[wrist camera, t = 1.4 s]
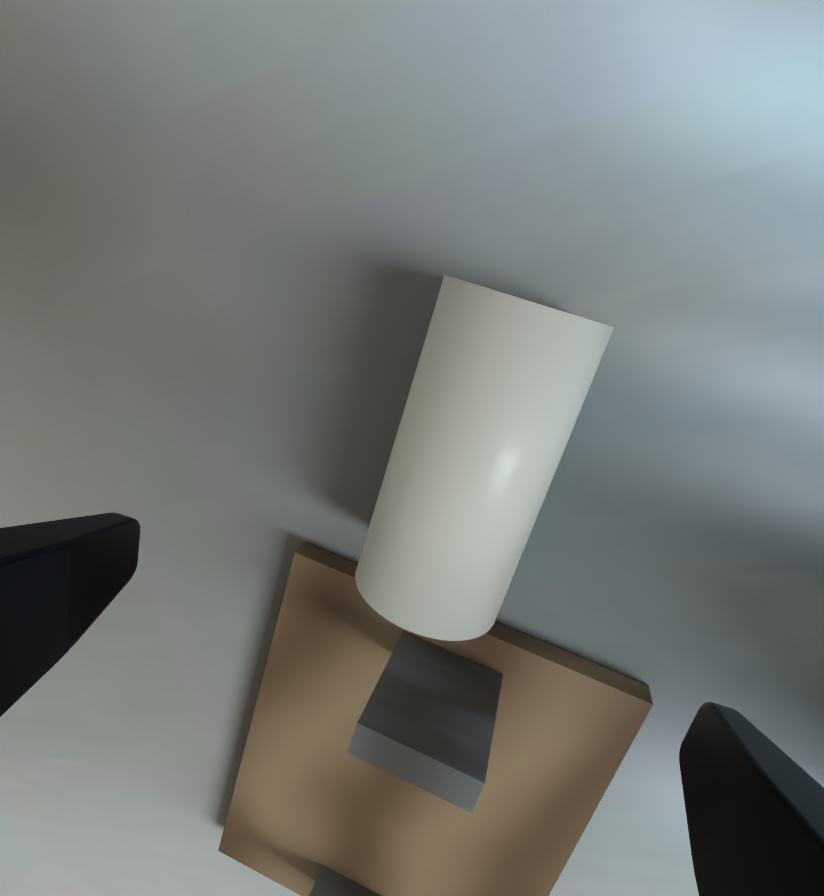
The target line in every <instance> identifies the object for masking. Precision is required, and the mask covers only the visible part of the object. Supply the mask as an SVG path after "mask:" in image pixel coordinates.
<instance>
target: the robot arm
mask: <svg viewBox="0 0 824 896" xmlns="http://www.w3.org/2000/svg"><path fill="white" fill-rule="evenodd" d="M139 539H140V525H139V522H138V521H137V520H136V519H134V518H131V517H128V516H125V515H121V514H118V513H105V514H98V515H91V516H84V517H77V518H70V519H62V520H55V521H48V522H41V523H34V524H27V525H19V526H12V527H5V528H0V717H1V716H2V715H3V714H4V713H5V712H6V711H7V710H8V709H9V708H10V707H11V706H12V705H13V704H14V703H15V702H16V701H17V700H18V699H19V698H20V697H21V696H22V695H24V694H25V693H26V692H27V691H28V690H29V689H30V688H31V687H32V686H33V685H34V684H35V683H36V682H37V681H38V680H39V679H40V678H41V677H42V676H43V675H44V674H45V673H46V672H48V671H49V670H50V669H51V668H52V667H53V666H54V665H55V664H56V663H57V662H58V661H59V660H60V659H61V658H62V657H63V656H64V655H65V654H66V653H67V652H68V651H69V649H70V648H71V647H72V646H73V645H74V644H75V643H76V642H77V641H78V640H79V638H80V637H81V636H82V635H83V634H84V633H85V631H86V630H87V629H88V628H89V627H90V626H91V624H92V623H93V622H94V621H95V620H96V619H97V618H98V616H99V615H100V614H101V613H102V612H103V611H104V609H105V608H106V607H107V606H108V605H109V604H110V602H111V601H112V600H113V599H114V598H115V597H116V596H117V594H118V593H119V592H120V591H121V590H122V589H123V587H124V586H125V585H126V584H127V583H128V582H129V580H130V579H131V578H132V576H133V574H134V572H135V570H136V567H137V562H138V550H139ZM679 761H680V770H681V777H682V785H683V793H684V800H685V808H686V815H687V823H688V831H689V838H690V846H691V854H692V860H693V866H694V872H695V878H696V882H697V887H698V892H699V896H824V788H823V787H822V786H821V785H820V784H819V783H818V782H817V781H815V780H814V779H813V778H812V777H811V776H810V775H809V774H808V773H806V772H805V771H804V770H803V769H802V768H801V767H800V766H799V765H797V764H796V763H795V762H794V761H793V760H792V759H791V758H790V757H789V756H787V755H786V754H785V753H784V752H783V751H782V750H781V749H780V748H778V747H777V746H776V745H775V744H774V743H773V742H772V741H771V740H769V739H768V738H767V737H766V736H765V735H764V734H763V733H762V732H761V731H759V730H758V729H757V728H756V727H755V726H754V725H753V724H752V723H750V722H749V721H748V720H747V719H746V718H745V717H744V716H743V715H742V714H740V713H739V712H738V711H736V710H734V709H731V708H728V707H725V706H722V705H719V704H715V703H712V702H707V703H704V704H703V705H702V706H701V707H700V709H699V710H698V712H697V714H696V716H695V718H694V720H693V722H692V724H691V726H690V728H689V730H688V732H687V734H686V736H685V738H684V740H683V742H682V744H681V748H680V754H679Z"/></svg>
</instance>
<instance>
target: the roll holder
mask: <svg viewBox="0 0 824 896" xmlns="http://www.w3.org/2000/svg"><path fill="white" fill-rule="evenodd" d="M357 565H358V564H357V563H355V562H352V561H350V560H347V559H345V558H343V557H340V556H338V555H336V554H333V553H331V552H328V551H326V550H324V549H321V548H319V547H316V546H314V545H312V544H309V543H307V542H306V543H304V544H303V545H302V546H301V547H300V548H299V549H298V550H297V551H296V552H295V553H294V557H293V561H292V565H291V569H290V573H289V577H288V580H287V584H286V588H285V592H284V596H283V600H282V604H281V608H280V612H279V616H278V620H277V623H276V627H275V631H274V635H273V639H272V643H271V647H270V651H269V655H268V659H267V663H266V666H265V670H264V674H263V678H262V682H261V686H260V690H259V694H258V698H257V702H256V706H255V709H254V713H253V717H252V721H251V725H250V729H249V733H248V737H247V741H246V745H245V749H244V752H243V756H242V760H241V764H240V768H239V772H238V776H237V780H236V784H235V788H234V792H233V795H232V799H231V803H230V807H229V811H228V815H227V819H226V823H225V827H224V831H223V835H222V838H221V842H220V846H219V850H218V851H220V852H222V853H224V854H226V855H227V856H229V857H231V858H233V859H235V860H237V861H238V862H240V863H242V864H244V865H246V866H248V867H249V868H251V869H253V870H255V871H257V872H259V873H261V874H262V875H264V876H266V877H268V878H270V879H272V880H273V881H275V882H277V883H279V884H281V885H283V886H284V887H286V888H288V889H290V890H292V891H294V892H295V893H297V894H299V895H301V896H549V894H550V892H551V890H552V889H553V887H554V885H555V883H556V881H557V879H558V878H559V876H560V874H561V872H562V870H563V868H564V867H565V865H566V863H567V861H568V859H569V857H570V855H571V854H572V852H573V850H574V848H575V846H576V844H577V843H578V841H579V839H580V837H581V835H582V833H583V832H584V830H585V828H586V826H587V824H588V822H589V821H590V819H591V817H592V815H593V813H594V811H595V810H596V808H597V806H598V804H599V802H600V800H601V799H602V797H603V795H604V793H605V791H606V789H607V788H608V786H609V784H610V782H611V780H612V778H613V777H614V775H615V773H616V771H617V769H618V767H619V766H620V764H621V762H622V760H623V758H624V756H625V755H626V753H627V751H628V749H629V747H630V745H631V743H632V742H633V740H634V738H635V736H636V734H637V732H638V731H639V729H640V727H641V725H642V723H643V721H644V720H645V718H646V716H647V714H648V712H649V710H650V709H651V707H652V705H653V703H652V699H651V694H650V690H649V686H648V685H645V684H643V683H641V682H638V681H636V680H633V679H631V678H629V677H626V676H624V675H622V674H619V673H617V672H614V671H612V670H610V669H607V668H605V667H602V666H600V665H598V664H595V663H593V662H591V661H588V660H586V659H583V658H581V657H579V656H576V655H574V654H571V653H569V652H567V651H564V650H562V649H560V648H557V647H555V646H552V645H550V644H548V643H545V642H543V641H541V640H538V639H536V638H533V637H531V636H529V635H526V634H524V633H521V632H519V631H517V630H514V629H512V628H510V627H507V626H505V625H502V624H500V623H498V622H494V625H493V626H492V628H491V629H490V630H489V631H488V632H487V633H485V634H483V635H482V636H479V637H477V638H474V639H470V640H463V641H446V640H438V639H433V638H428V637H425V636H421V635H418V634H415V633H413V632H410V631H407V630H405V629H403V628H401V627H399V626H397V625H395V624H394V623H392V622H390V621H388V620H387V619H385V618H384V617H383V616H381V615H380V614H379V613H377V612H376V611H375V610H374V609H373V608H372V607H371V606H370V605H369V604H368V603H367V602H366V601H365V599H364V598H363V597H362V595H361V594H360V592H359V590H358V588H357V585H356V580H355V572H356V568H357Z"/></svg>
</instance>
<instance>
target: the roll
mask: <svg viewBox="0 0 824 896" xmlns="http://www.w3.org/2000/svg"><path fill="white" fill-rule="evenodd" d="M613 329H614V327H611V326H608V325H605V324H602V323H598V322H595V321H592V320H589V319H586V318H582V317H579V316H576V315H573V314H570V313H566V312H563V311H560V310H557V309H554V308H550V307H547V306H544V305H541V304H537V303H534V302H531V301H528V300H525V299H521V298H518V297H515V296H512V295H509V294H505V293H502V292H499V291H496V290H492V289H489V288H486V287H483V286H480V285H476V284H473V283H470V282H467V281H463V280H460V279H457V278H454V277H451V276H447V275H444V278H443V282H442V285H441V288H440V292H439V295H438V298H437V302H436V305H435V308H434V312H433V315H432V318H431V322H430V325H429V328H428V332H427V335H426V338H425V342H424V345H423V348H422V352H421V355H420V358H419V362H418V365H417V368H416V372H415V375H414V378H413V382H412V385H411V388H410V392H409V395H408V398H407V402H406V405H405V408H404V412H403V415H402V418H401V422H400V425H399V428H398V432H397V435H396V438H395V442H394V445H393V448H392V452H391V455H390V458H389V462H388V465H387V468H386V472H385V475H384V478H383V482H382V485H381V488H380V492H379V495H378V498H377V502H376V505H375V508H374V512H373V515H372V518H371V522H370V525H369V528H368V532H367V535H366V538H365V542H364V545H363V548H362V552H361V555H360V558H359V562H358V565H357V568H356V572H355V580H356V585H357V588H358V590H359V592H360V594H361V595H362V597H363V598H364V599H365V601H366V602H367V603H368V604H369V605H370V606H371V607H372V608H373V609H374V610H375V611H376V612H377V613H379V614H380V615H381V616H383V617H384V618H385V619H387V620H388V621H390V622H392V623H394V624H395V625H397V626H399V627H401V628H403V629H405V630H407V631H410V632H413V633H415V634H418V635H421V636H425V637H428V638H433V639H438V640H446V641H463V640H470V639H474V638H477V637H479V636H482V635H483V634H485V633H487V632H488V631H489V630H490V629H491V628H492V626H493V625H494V622H495V620H496V618H497V615H498V613H499V610H500V608H501V605H502V603H503V600H504V598H505V595H506V593H507V590H508V588H509V585H510V583H511V580H512V578H513V576H514V573H515V571H516V568H517V566H518V563H519V561H520V558H521V556H522V553H523V551H524V548H525V546H526V543H527V541H528V539H529V536H530V534H531V531H532V529H533V526H534V524H535V521H536V519H537V516H538V514H539V511H540V509H541V506H542V504H543V502H544V499H545V497H546V494H547V492H548V489H549V487H550V484H551V482H552V479H553V477H554V474H555V472H556V469H557V467H558V465H559V462H560V460H561V457H562V455H563V452H564V450H565V447H566V445H567V442H568V440H569V437H570V435H571V432H572V430H573V428H574V425H575V423H576V420H577V418H578V415H579V413H580V410H581V408H582V405H583V403H584V400H585V398H586V395H587V393H588V390H589V388H590V386H591V383H592V381H593V378H594V376H595V373H596V371H597V368H598V366H599V363H600V361H601V358H602V356H603V353H604V351H605V349H606V346H607V344H608V341H609V339H610V336H611V334H612V331H613Z"/></svg>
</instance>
